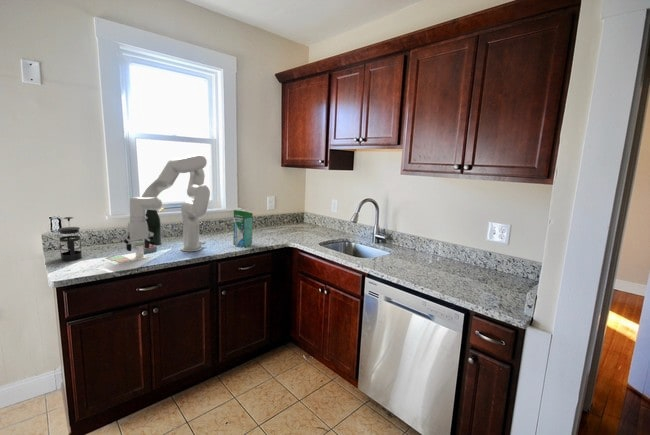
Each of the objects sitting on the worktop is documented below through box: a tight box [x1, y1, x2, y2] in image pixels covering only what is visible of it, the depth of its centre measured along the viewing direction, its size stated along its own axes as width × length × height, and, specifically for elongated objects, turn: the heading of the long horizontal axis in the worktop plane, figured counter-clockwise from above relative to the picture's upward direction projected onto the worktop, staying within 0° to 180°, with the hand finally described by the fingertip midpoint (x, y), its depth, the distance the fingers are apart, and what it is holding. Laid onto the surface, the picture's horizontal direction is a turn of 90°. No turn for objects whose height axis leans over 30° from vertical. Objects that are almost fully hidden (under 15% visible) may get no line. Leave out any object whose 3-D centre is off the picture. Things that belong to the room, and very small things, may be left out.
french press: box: [58, 216, 83, 262], centre depth 171 cm, size 12×9×23 cm
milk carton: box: [232, 209, 254, 248], centre depth 218 cm, size 9×9×25 cm
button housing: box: [143, 245, 158, 255], centre depth 191 cm, size 7×7×4 cm
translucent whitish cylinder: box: [134, 241, 145, 258], centre depth 179 cm, size 4×4×8 cm
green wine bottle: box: [143, 210, 162, 246], centre depth 210 cm, size 10×10×33 cm
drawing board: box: [101, 252, 149, 265], centre depth 176 cm, size 20×16×1 cm
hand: (138, 249), depth 178 cm, fingers open, 9 cm apart
